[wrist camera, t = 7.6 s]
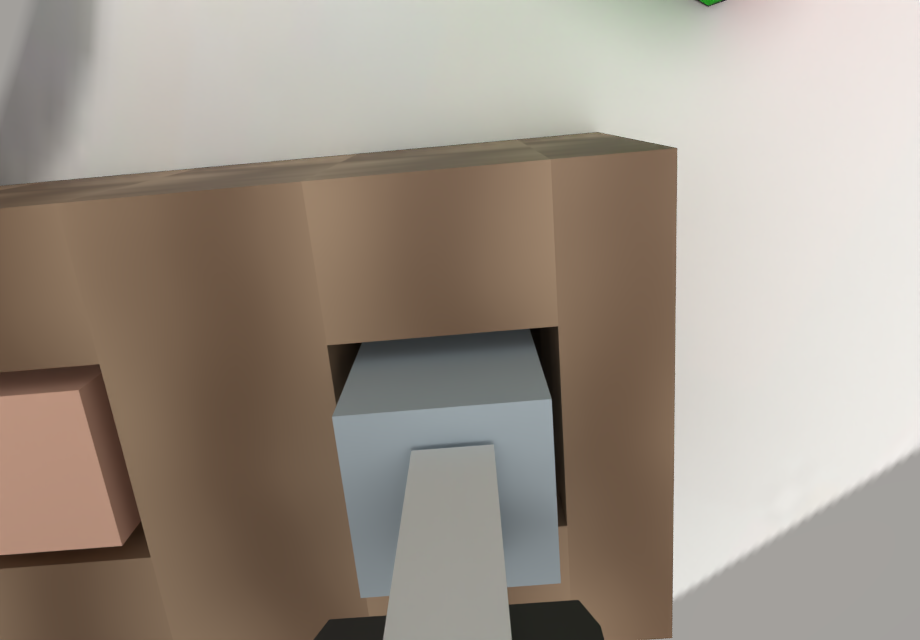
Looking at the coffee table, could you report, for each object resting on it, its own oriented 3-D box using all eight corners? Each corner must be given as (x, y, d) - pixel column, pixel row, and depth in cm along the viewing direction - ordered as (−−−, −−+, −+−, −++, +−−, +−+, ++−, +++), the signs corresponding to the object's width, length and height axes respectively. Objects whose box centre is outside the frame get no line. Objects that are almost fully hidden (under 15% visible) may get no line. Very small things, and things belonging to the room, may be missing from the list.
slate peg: (394, 427, 21) (360, 598, 14) (378, 301, 19) (331, 416, 12) (525, 417, 21) (560, 583, 13) (517, 289, 19) (551, 399, 12)
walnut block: (66, 514, 25) (-105, 693, 17) (-33, 189, 21) (-303, 235, 14) (605, 472, 25) (671, 637, 17) (597, 132, 21) (676, 148, 13)
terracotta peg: (111, 418, 23) (-44, 558, 16) (81, 307, 22) (-101, 404, 15) (226, 409, 23) (122, 545, 16) (202, 296, 22) (78, 390, 15)
